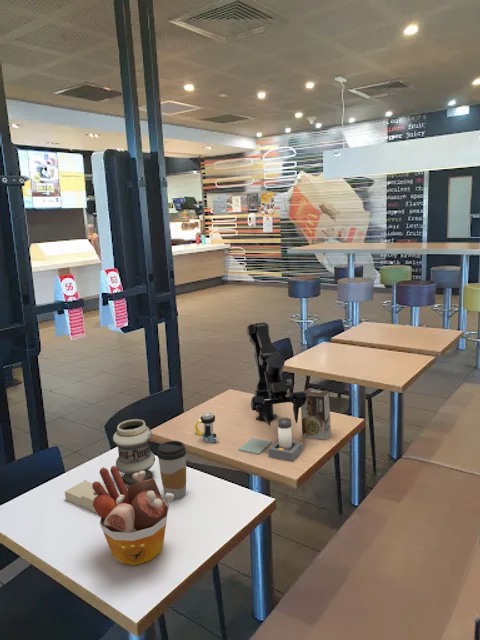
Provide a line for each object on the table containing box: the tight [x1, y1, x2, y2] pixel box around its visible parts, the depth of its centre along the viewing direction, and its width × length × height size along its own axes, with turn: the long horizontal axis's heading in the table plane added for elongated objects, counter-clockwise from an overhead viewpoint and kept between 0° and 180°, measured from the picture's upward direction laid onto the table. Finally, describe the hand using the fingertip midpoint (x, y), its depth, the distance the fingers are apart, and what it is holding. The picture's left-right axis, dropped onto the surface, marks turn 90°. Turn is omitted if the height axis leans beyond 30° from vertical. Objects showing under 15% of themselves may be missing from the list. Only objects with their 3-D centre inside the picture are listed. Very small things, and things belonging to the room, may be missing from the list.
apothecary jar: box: [112, 418, 156, 487], centre depth 156 cm, size 12×12×18 cm
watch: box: [194, 418, 204, 436], centre depth 187 cm, size 6×3×6 cm, turn 67°
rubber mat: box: [237, 437, 273, 456], centre depth 175 cm, size 10×8×1 cm
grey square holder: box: [267, 438, 304, 463], centre depth 168 cm, size 9×9×3 cm
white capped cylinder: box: [277, 417, 293, 451], centre depth 167 cm, size 4×4×12 cm
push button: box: [199, 412, 219, 444], centre depth 180 cm, size 7×5×10 cm
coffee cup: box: [156, 440, 187, 501], centre depth 145 cm, size 8×8×15 cm
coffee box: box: [300, 388, 332, 441], centre depth 180 cm, size 9×6×16 cm
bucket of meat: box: [92, 465, 174, 566], centre depth 120 cm, size 20×16×20 cm
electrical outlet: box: [64, 480, 120, 514], centre depth 144 cm, size 7×4×18 cm
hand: (283, 424), depth 168 cm, fingers open, 9 cm apart
